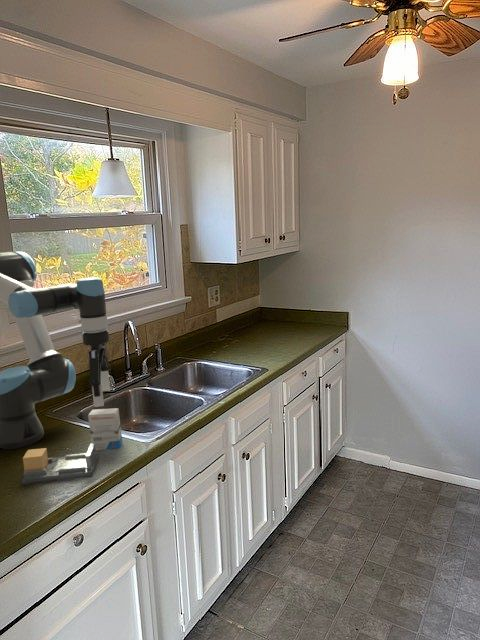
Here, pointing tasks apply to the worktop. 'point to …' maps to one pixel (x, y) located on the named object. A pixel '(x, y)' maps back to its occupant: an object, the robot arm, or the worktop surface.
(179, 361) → the worktop surface
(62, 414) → the worktop surface
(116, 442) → the ink box
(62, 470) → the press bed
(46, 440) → the worktop surface
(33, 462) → the tan wooden cube
